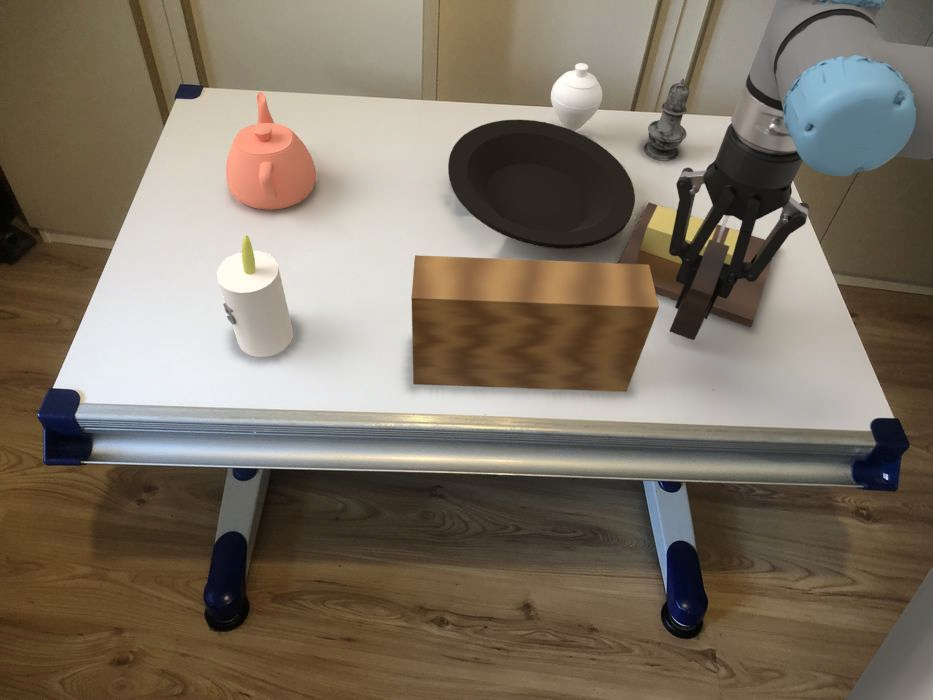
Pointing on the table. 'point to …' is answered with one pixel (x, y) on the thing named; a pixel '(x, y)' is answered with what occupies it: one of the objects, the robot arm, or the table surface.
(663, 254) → the butter block
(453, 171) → the plate
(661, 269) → the board
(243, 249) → the candle
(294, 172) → the teapot
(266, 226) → the table surface
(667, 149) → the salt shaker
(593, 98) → the spinning top
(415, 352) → the wood grain block
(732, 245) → the butter slice
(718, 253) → the brown and grey bar
